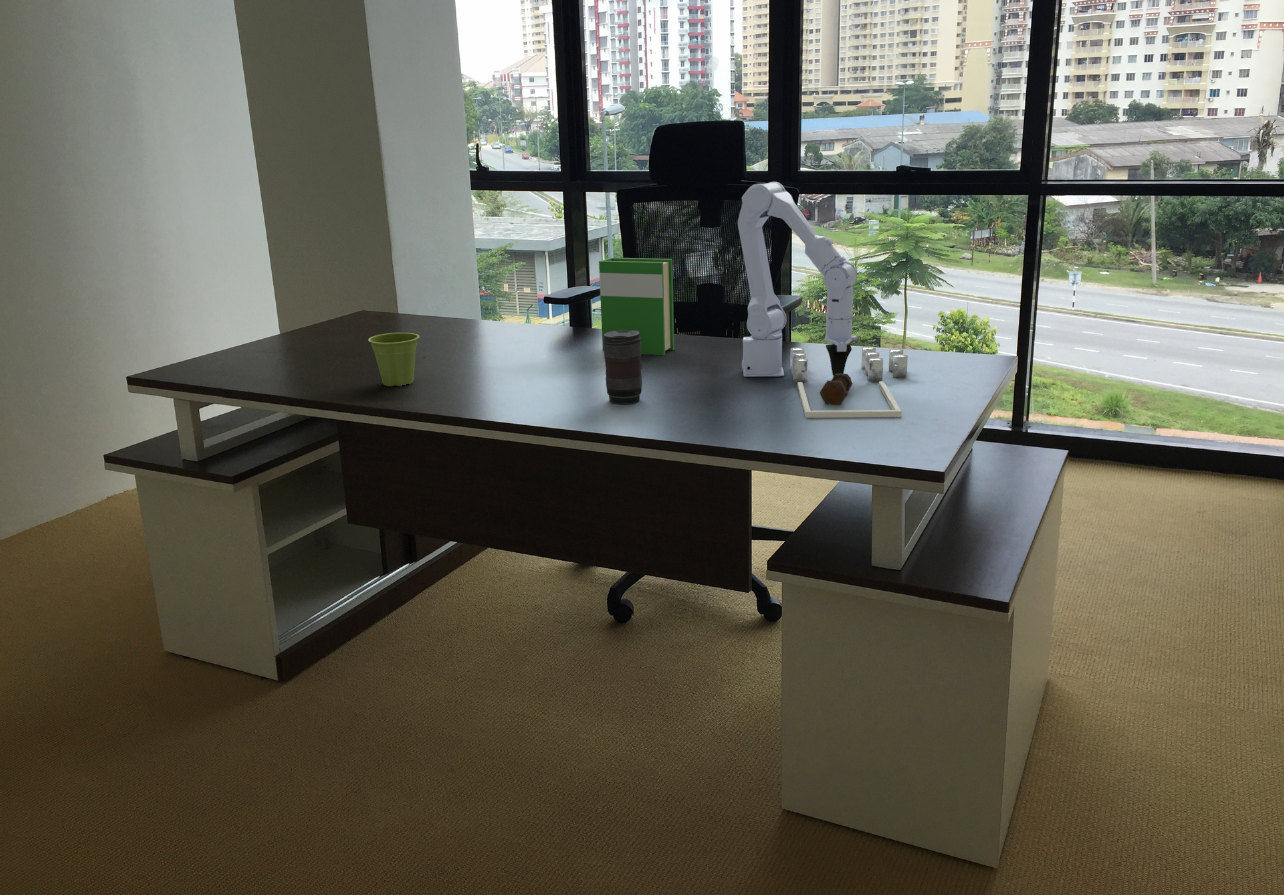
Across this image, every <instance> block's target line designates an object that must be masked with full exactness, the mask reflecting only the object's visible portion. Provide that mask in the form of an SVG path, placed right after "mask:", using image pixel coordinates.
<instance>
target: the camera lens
mask: <svg viewBox="0 0 1284 895" xmlns="http://www.w3.org/2000/svg"><path fill="white" fill-rule="evenodd" d="M603 340H604V341H603V344H604V352H603V356H604V363H605V364H604V366H605V387H606V393H607V395H608V400H609V402H610V403H613V404H617V405H630V404H636V403H638V402H640V400H641V398H640V397H641V394H642V392H643V391H642V389H643V388H642V387H643V381H642V380H643V377H642V376H643V375H642V369H643V367H642V366H643V365H642V360H641V359H642V354H641V338H640V335H639V332H638V331H634V330H618V331H611V332H607V333H605V334H604V339H603Z"/></svg>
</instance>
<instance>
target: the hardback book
mask: <svg viewBox="0 0 1284 895" xmlns="http://www.w3.org/2000/svg"><path fill="white" fill-rule="evenodd" d="M673 271H674V270H673V259H672V258H643V257H642V258H640V257H639V258H635V257H634V258H633V257H632V258H631V257H608V258H606V259H605V258H604V259H602V260H600V261H598V272H599V273H598V274H599V292H600V293H599V296H600V298H599V299H600V317H601V320H600V321H601V339H602V340H601V341H602V342H601V343H602V345H601V346H602V352H603V353H604V344H603V341H604V340H603V339H604V334H605V333H607V332H611V331H618V330H634V331H638V332H639V335H640V338H641V355H650V354H653V355H654V354H655V355H654V356H665V355H666V351H674V350H675V325H674V280H673V278H674V276H673ZM656 354H657V355H656ZM653 355H652V356H653Z"/></svg>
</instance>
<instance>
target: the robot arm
mask: <svg viewBox="0 0 1284 895" xmlns="http://www.w3.org/2000/svg"><path fill="white" fill-rule="evenodd" d="M741 201H742V204H741V208H740V212H739V216H738V217H737V218H738V219H737V227H738V233H739V238H740V244H741V248H742V249H741V250H742V255H743V260H744V266H745V271H746V276H747V281H748V287H749V293H750V300H749V303H748V305H747V314H748V315H747V320H746V328H747V330H748V332H749V333H750V336H743V338H742V360H741V368H742V371H743V372H742V374H743V375H742V376H743V377H745V378H746V377H748V378H749V377H784V376H785V373H784V369H783V367H782V363H783V361H782V360H783V357H782V356H783V347H782V346H783V333H782V332H783V331H782V330H783V329H784V327H785V326H786V324H787V320H788V319H787V314H786V312H785V310H784V309H783V307H782V305H781V300H780V299H779V298H778V296H777V295H776V294H775V292H774V287H773V281H772V275H771V270H770V265H769V260H768V259H769V258H768V253H767V247H766V243H765V242H766V241H765V236H764V231H763V226H764V224H765V223H766V222H767V220H768V219H769V218H770V216H771V217H775V218H779V219H781V220H783V221H784V222H785V224H787V225H788V227H789V228H790V229H791V231H793V232H794V234H795V235H796V236H797V237H798V238H799V239H800V240H801V242H803V244H804V245H805V246H804V254H805V255H806V256H807V258H808V259H809V260H810V261H811V263H812V264H813V265H814V266H815V268H816V269H817V270H818V271H819V273H820V275H822V276H824V277H823V278H822V281H823V284H824V287H825V288H826V289H827V292H826V294H827V295H826V319H825V320H826V321H825V322H826V323H825V324H826V325H825V326H826V327H825V331H826V332H825V337H824V340H825V342H827V343H829V344H825V345H824V346H825V348H826V351H827V353H828V356H829V361H830V368H831V374H832V378H833V377H834V375H835V374H836V373H844V372H845V368H846V364H847V361H848V358H849V355H850V353H851V352H852V344H850V343H851V342H852V341H857V340H858V337H857V335H852V333H853V332H852V331H853V305H854V303H853V302H854V297H853V295H854V286H853V285H855V284H856V283H857V282H856V281H857V279H858V271H857V269H856V267H855V265H854V264H853V263H851V262H849V261H847V260H846V257H845V256H841V254H840V253H839V252H838V250H837V249H836V248H835V247H834V246H833V244H834V242H833V240H832V238H827V237H826V236H823V235H818V233H817V232H816V231H815V230H814V228H813V226H811V224H810V222H809V221H808V220H807V218H806V217H805V216H804V214H803V213H802V211H801V210H800V208H799V207H798V205H797V204H796V203H795V201H794V199H793V196H792V194H791V193H789V192H788V191H787V190H786V188H785V187H784V185H782V183H780V182H777V181H770V182H768V183H755V184H752V185H751V186H750V187H749V188H748V189H746V191H745V193H744V194H743V195H742V197H741ZM844 374H845V373H844Z"/></svg>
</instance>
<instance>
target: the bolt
mask: <svg viewBox="0 0 1284 895" xmlns="http://www.w3.org/2000/svg"><path fill="white" fill-rule="evenodd" d="M853 384H854V383H853V381H852V378H851V377H850V376H849V374H848V373H836V374H835V375H834V377H833V376H832V379H829V380H826V382H825V383H824V385H823V386H822V388H821V390H820V391H819V395H820V396H821V399H822V401H823V402H824V404H825V405H829V404H831V406H832V405H833V406H840V405H842V403H843V401H844V400H845V399H846V397H847V395H848V394H849V391H850V389H851V388H852V386H853Z"/></svg>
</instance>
